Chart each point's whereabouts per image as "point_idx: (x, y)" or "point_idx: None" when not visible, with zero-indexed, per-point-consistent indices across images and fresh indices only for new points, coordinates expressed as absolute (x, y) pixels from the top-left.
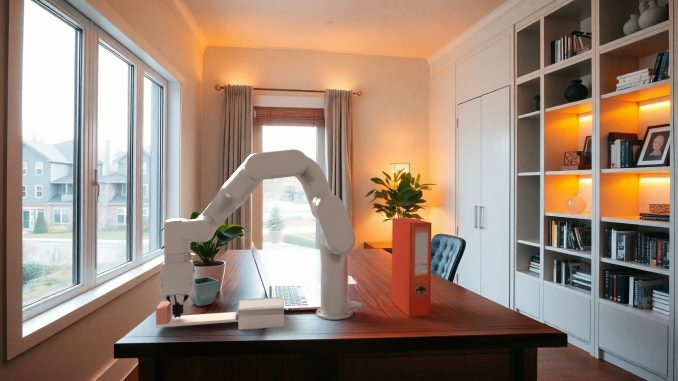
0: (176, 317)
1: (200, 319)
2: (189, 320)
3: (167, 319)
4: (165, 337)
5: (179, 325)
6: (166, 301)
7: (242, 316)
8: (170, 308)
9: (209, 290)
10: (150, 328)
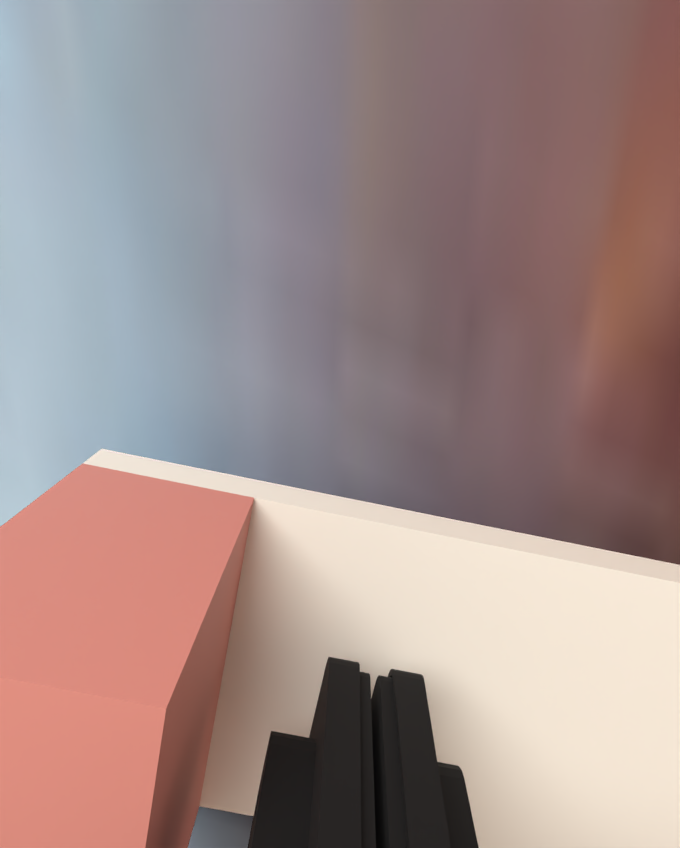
0: (336, 587)
1: (676, 818)
2: (517, 791)
3: (191, 823)
4: (217, 831)
5: None
6: (14, 709)
7: None
8: (198, 690)
9: None
10: (3, 487)
